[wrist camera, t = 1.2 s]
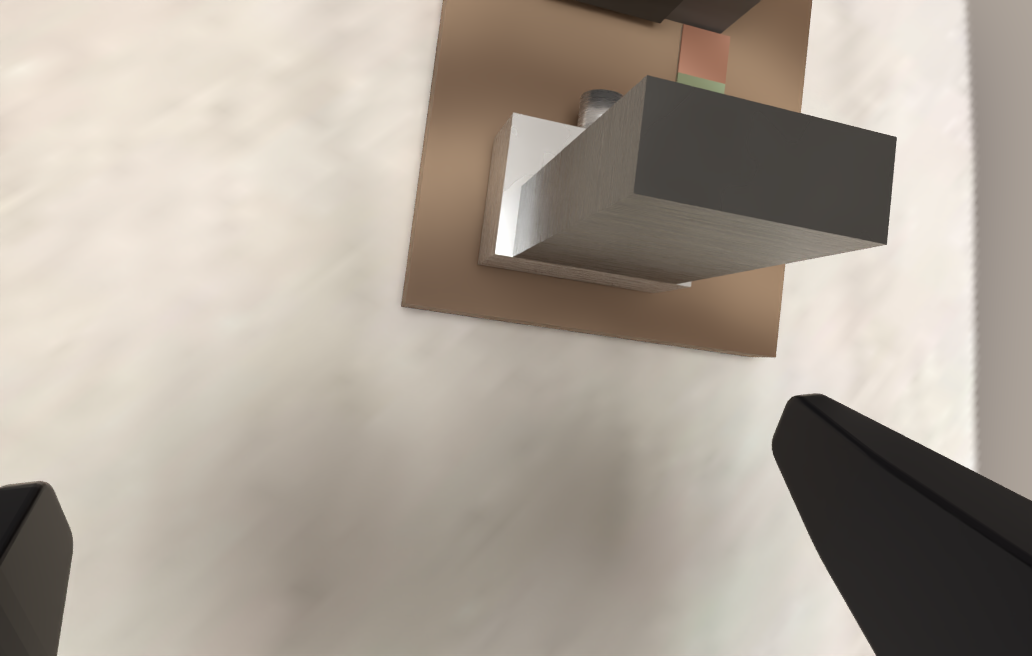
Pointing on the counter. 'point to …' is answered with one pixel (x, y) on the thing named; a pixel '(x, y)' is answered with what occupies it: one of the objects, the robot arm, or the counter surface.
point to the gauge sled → (680, 189)
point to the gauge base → (556, 97)
